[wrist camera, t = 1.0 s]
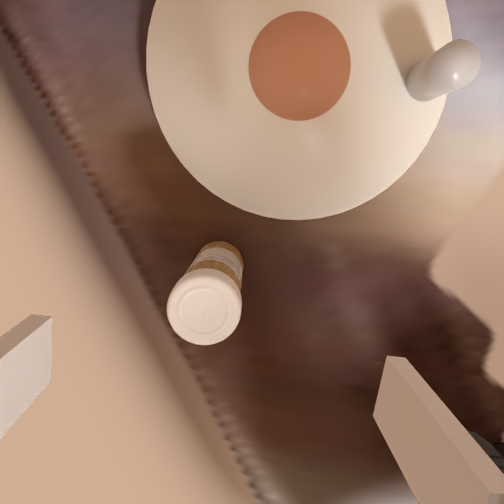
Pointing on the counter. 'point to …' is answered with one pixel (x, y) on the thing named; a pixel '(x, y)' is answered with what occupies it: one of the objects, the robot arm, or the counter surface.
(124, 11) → the counter surface
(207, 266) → the sprinkles bottle
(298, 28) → the disc
